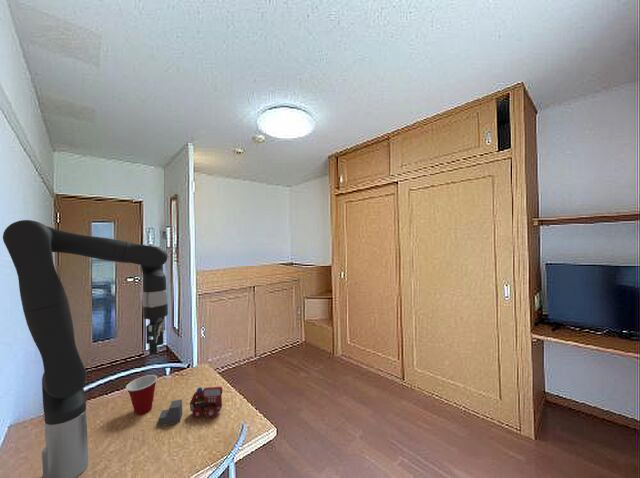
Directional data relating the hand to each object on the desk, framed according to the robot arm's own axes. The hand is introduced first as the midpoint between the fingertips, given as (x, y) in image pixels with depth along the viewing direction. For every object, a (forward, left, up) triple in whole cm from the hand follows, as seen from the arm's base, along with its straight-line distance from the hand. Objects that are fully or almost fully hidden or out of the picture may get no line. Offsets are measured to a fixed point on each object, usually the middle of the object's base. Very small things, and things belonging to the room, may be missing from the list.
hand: (156, 349), depth 100 cm
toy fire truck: (+15, +7, -30) cm, 34 cm away
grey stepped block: (+2, +7, -30) cm, 31 cm away
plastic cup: (-10, +17, -30) cm, 36 cm away
